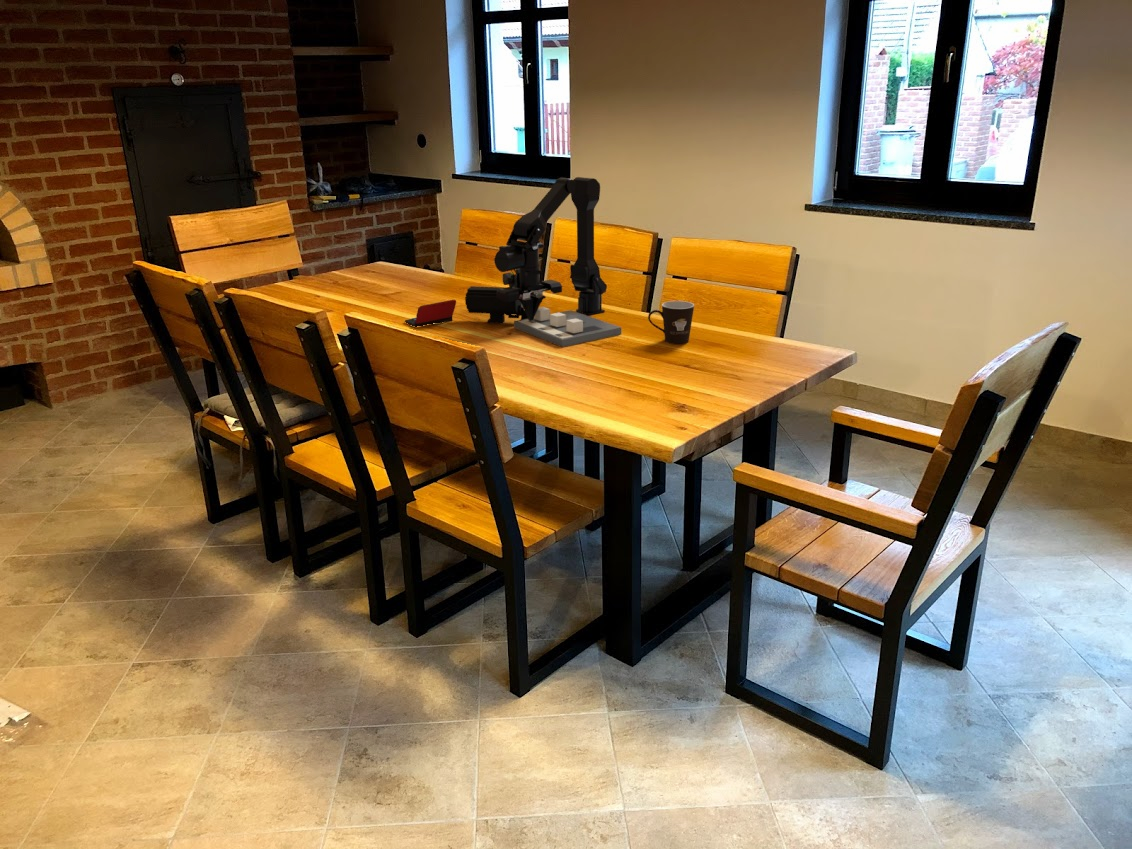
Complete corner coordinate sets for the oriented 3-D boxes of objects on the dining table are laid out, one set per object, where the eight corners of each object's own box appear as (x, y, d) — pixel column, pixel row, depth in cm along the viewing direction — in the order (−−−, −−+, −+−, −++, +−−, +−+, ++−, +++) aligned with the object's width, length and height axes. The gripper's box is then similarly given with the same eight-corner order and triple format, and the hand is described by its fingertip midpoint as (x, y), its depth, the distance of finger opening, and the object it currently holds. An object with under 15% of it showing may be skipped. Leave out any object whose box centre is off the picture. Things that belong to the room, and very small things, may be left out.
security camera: (526, 326, 261) (525, 292, 257) (465, 324, 265) (463, 290, 261) (532, 320, 267) (531, 287, 264) (471, 318, 271) (470, 285, 267)
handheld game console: (440, 316, 274) (438, 292, 271) (458, 324, 266) (457, 299, 263) (403, 323, 267) (401, 299, 264) (420, 331, 259) (418, 306, 256)
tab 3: (576, 328, 250) (576, 318, 249) (583, 331, 247) (582, 320, 246) (566, 330, 248) (566, 320, 247) (573, 333, 246) (573, 322, 244)
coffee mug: (695, 337, 248) (697, 302, 245) (689, 346, 241) (690, 309, 237) (654, 334, 252) (655, 299, 248) (646, 343, 244) (647, 306, 241)
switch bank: (570, 316, 271) (570, 309, 270) (621, 334, 252) (621, 326, 252) (514, 327, 260) (514, 320, 259) (562, 347, 242) (562, 339, 241)
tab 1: (543, 316, 262) (543, 306, 261) (549, 319, 260) (549, 309, 258) (534, 318, 260) (534, 308, 259) (540, 321, 258) (540, 310, 257)
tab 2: (559, 322, 256) (559, 312, 255) (566, 325, 253) (566, 314, 252) (550, 324, 254) (550, 314, 253) (556, 327, 252) (556, 316, 251)
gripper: (540, 256, 263) (542, 309, 269) (484, 265, 253) (487, 320, 259) (562, 263, 254) (563, 317, 260) (506, 272, 245) (508, 328, 250)
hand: (530, 320), depth 258 cm, fingers closed
